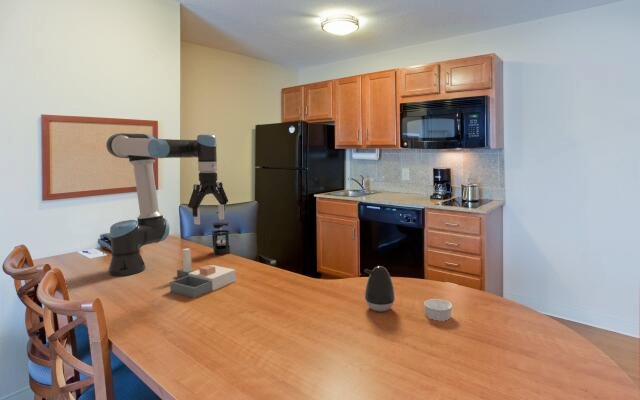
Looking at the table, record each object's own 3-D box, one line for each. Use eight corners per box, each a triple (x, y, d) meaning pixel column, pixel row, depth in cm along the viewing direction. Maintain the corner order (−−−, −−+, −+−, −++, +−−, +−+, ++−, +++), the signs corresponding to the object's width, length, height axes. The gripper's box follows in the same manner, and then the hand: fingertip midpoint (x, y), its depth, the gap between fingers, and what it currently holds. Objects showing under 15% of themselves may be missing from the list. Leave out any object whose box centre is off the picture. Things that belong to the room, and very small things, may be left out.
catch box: (170, 291, 146) (169, 281, 146) (188, 284, 154) (188, 275, 153) (194, 298, 139) (193, 288, 138) (212, 290, 146) (211, 281, 146)
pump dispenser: (361, 303, 132) (361, 262, 131) (389, 302, 133) (390, 261, 131) (367, 315, 122) (367, 271, 120) (398, 314, 123) (398, 270, 121)
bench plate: (189, 284, 154) (188, 273, 153) (212, 275, 165) (212, 265, 164) (212, 290, 146) (212, 278, 146) (235, 281, 157) (235, 269, 157)
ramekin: (445, 325, 115) (445, 312, 115) (419, 317, 121) (419, 304, 120) (456, 315, 122) (456, 303, 121) (430, 308, 128) (431, 296, 127)
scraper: (177, 276, 164) (175, 248, 163) (182, 274, 167) (181, 246, 165) (193, 280, 159) (192, 251, 157) (199, 278, 161) (197, 249, 160)
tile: (199, 273, 152) (199, 267, 152) (208, 270, 156) (207, 265, 156) (207, 275, 150) (206, 269, 149) (215, 272, 154) (215, 266, 153)
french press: (235, 252, 204) (233, 211, 201) (222, 256, 196) (220, 213, 194) (220, 249, 211) (218, 209, 208) (207, 253, 203) (205, 212, 200)
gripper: (189, 173, 142) (192, 227, 145) (235, 170, 163) (236, 217, 166) (177, 173, 146) (179, 225, 148) (223, 170, 167) (224, 216, 170)
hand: (209, 221), depth 157 cm, fingers open, 13 cm apart
